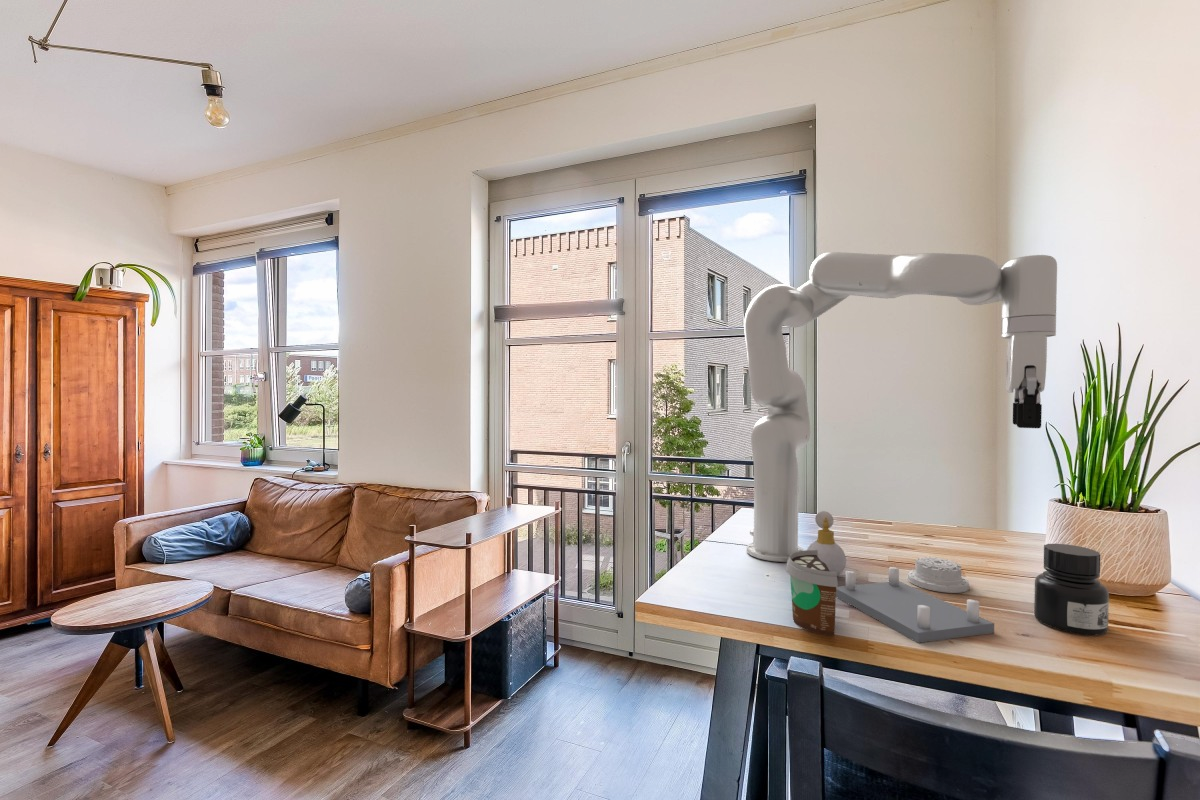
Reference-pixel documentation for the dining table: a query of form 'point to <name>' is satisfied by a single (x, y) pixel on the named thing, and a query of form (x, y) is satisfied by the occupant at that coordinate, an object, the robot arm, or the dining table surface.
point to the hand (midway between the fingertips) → (1026, 426)
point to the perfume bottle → (828, 544)
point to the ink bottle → (1071, 591)
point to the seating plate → (913, 609)
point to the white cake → (938, 575)
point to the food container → (812, 592)
